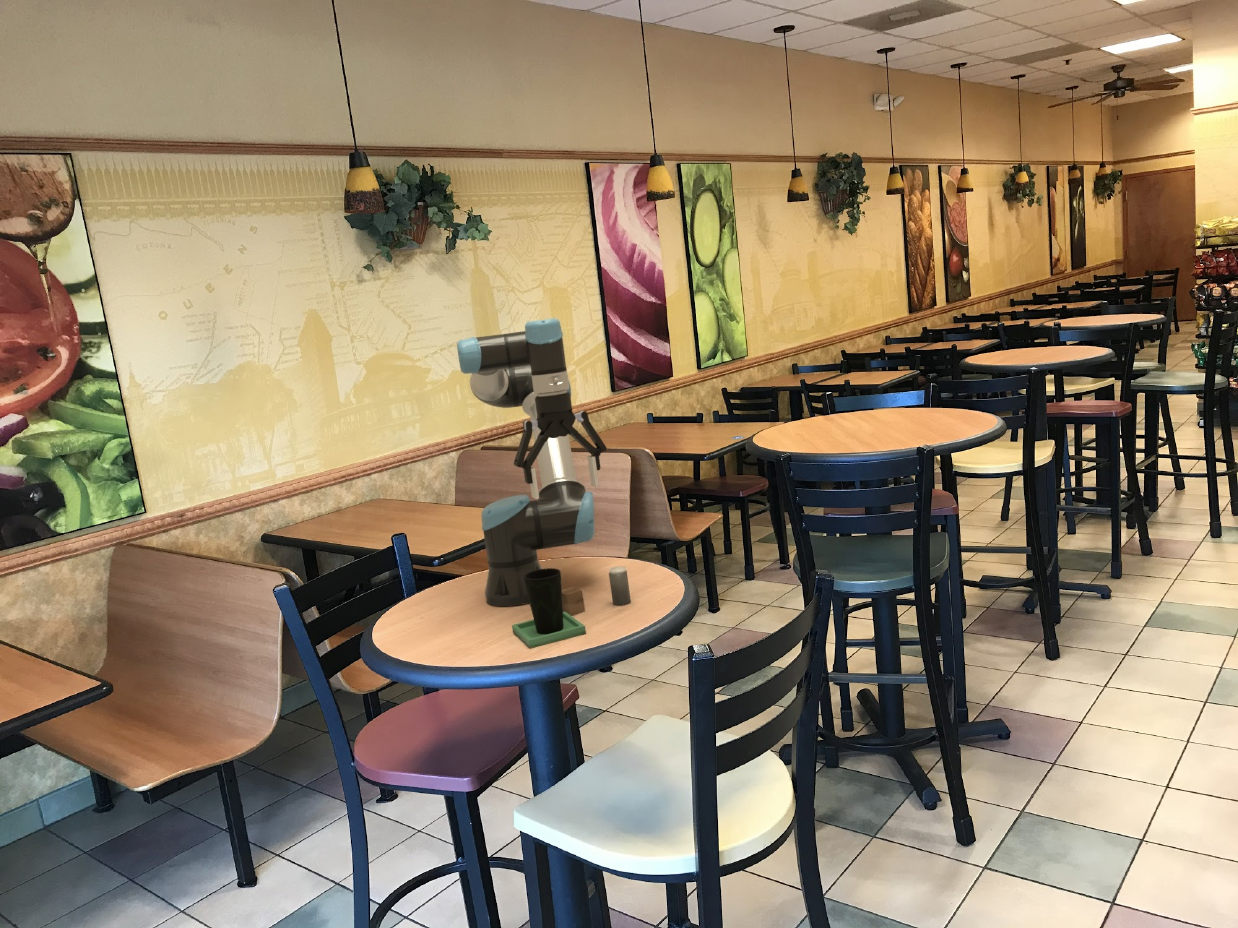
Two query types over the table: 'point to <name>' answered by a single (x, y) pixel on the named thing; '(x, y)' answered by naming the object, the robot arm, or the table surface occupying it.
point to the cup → (545, 599)
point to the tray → (534, 639)
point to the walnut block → (572, 601)
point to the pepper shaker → (619, 586)
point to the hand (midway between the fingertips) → (565, 492)
